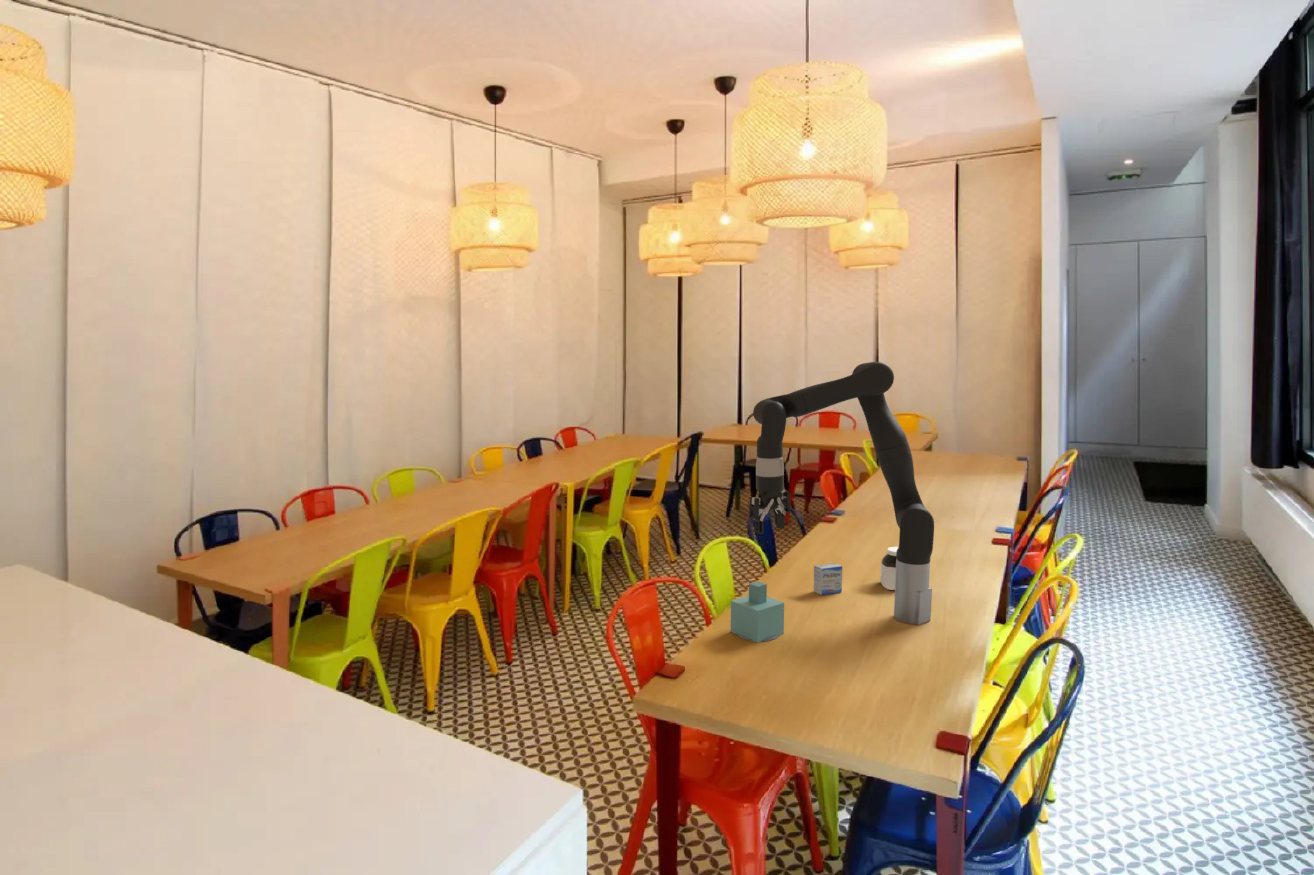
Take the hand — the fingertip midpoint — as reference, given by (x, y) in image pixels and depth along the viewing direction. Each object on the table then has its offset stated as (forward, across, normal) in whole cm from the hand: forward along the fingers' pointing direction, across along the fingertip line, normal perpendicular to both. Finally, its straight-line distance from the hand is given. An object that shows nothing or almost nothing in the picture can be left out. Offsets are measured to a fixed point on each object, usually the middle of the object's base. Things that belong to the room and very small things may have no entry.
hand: (770, 531), depth 216 cm
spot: (+27, -7, -1) cm, 28 cm away
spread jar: (+28, +57, -3) cm, 64 cm away
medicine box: (+28, +35, +7) cm, 46 cm away
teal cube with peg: (+27, -7, -1) cm, 28 cm away
